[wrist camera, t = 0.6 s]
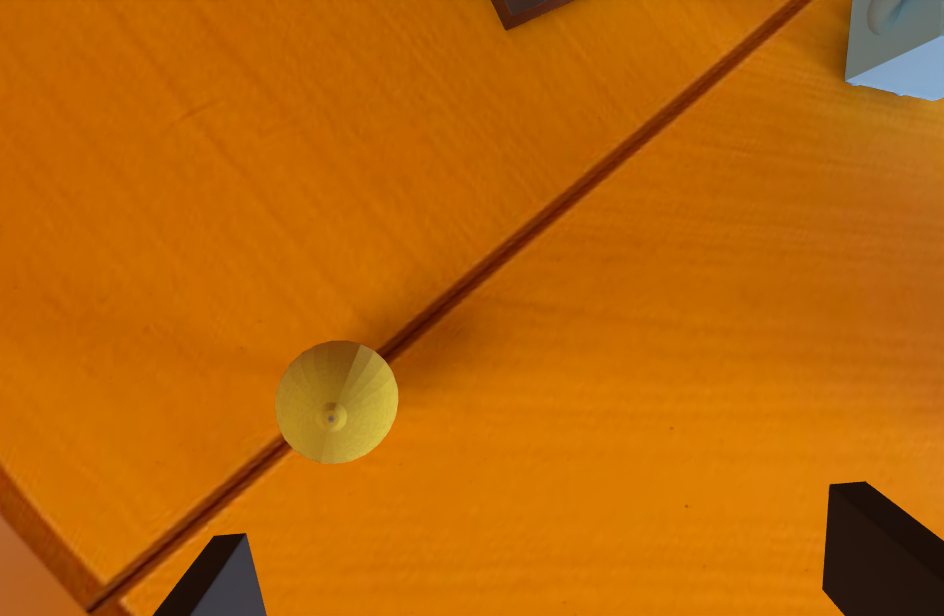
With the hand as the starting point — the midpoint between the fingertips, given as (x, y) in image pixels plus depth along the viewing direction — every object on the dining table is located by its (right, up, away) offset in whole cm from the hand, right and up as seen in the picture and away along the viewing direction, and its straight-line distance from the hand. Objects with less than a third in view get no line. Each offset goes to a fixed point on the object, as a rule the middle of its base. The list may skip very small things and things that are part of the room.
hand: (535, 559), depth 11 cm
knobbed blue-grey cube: (+25, +23, +22) cm, 41 cm away
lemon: (-8, +2, +16) cm, 18 cm away
